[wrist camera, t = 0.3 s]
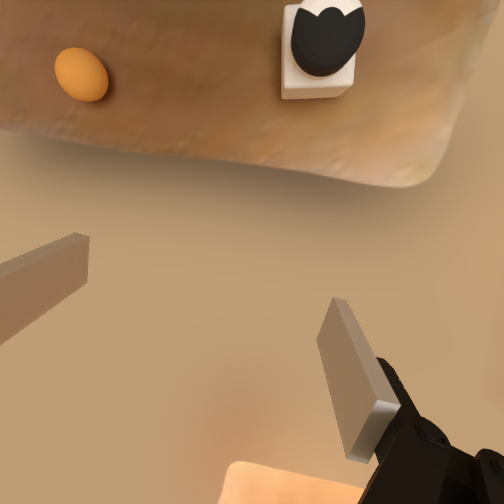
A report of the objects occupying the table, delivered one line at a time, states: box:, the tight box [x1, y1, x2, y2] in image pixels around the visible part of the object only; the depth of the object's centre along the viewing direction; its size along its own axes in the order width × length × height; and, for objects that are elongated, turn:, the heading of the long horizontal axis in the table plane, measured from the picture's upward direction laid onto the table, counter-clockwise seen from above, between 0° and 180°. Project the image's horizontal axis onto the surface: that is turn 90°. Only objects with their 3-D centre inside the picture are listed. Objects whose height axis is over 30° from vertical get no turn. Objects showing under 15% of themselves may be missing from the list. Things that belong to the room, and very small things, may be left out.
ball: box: [55, 48, 108, 102], centre depth 34 cm, size 6×6×6 cm
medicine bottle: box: [281, 0, 365, 99], centre depth 29 cm, size 7×7×12 cm
